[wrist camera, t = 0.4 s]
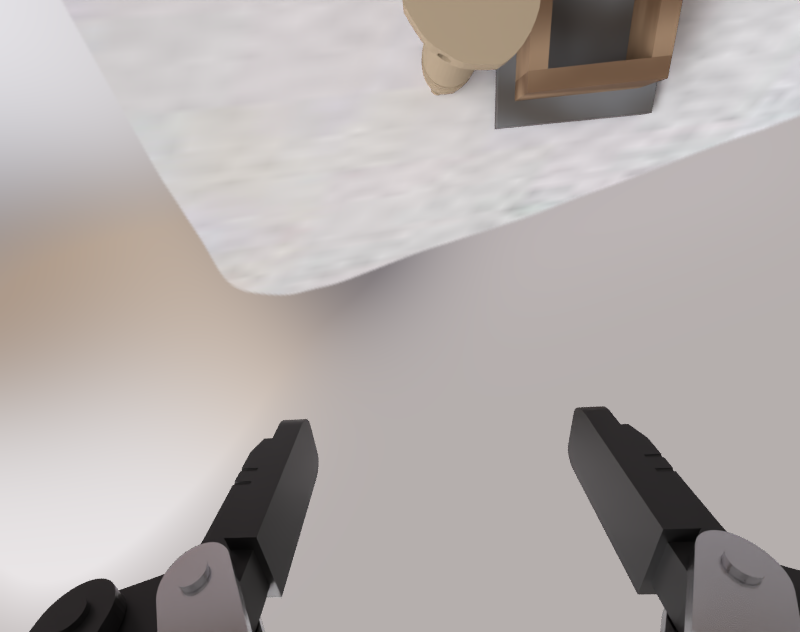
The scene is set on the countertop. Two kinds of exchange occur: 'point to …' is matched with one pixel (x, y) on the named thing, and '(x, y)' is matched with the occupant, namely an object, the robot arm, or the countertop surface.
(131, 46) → the countertop surface
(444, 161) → the countertop surface
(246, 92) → the countertop surface
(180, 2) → the countertop surface
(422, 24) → the handle
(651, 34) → the socket
